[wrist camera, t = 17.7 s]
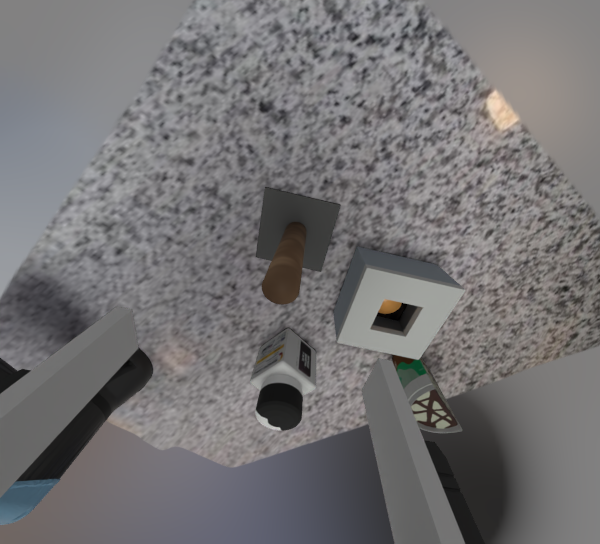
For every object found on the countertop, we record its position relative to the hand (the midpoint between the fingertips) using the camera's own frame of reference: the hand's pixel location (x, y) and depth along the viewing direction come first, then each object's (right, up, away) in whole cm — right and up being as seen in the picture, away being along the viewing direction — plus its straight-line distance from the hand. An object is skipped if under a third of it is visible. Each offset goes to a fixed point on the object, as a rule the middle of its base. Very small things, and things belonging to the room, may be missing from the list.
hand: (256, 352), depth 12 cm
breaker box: (+15, +2, +23) cm, 27 cm away
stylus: (+2, +10, +19) cm, 21 cm away
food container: (+22, -12, +29) cm, 39 cm away
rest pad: (+2, +10, +19) cm, 22 cm away
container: (0, -10, +30) cm, 31 cm away
